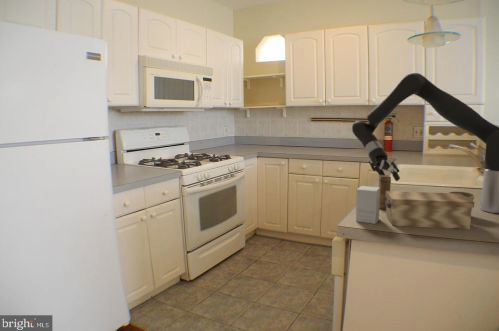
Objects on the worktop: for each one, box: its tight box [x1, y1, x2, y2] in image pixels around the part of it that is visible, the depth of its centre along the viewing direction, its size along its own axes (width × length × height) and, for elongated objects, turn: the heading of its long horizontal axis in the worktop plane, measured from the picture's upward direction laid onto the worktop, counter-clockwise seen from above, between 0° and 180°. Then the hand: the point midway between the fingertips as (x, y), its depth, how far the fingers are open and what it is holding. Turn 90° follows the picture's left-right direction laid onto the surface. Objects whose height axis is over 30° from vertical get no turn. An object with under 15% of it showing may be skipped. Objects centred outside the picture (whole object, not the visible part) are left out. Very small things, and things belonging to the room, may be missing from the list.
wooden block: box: [378, 174, 392, 210], centre depth 154 cm, size 4×4×14 cm
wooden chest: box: [385, 190, 475, 230], centre depth 139 cm, size 28×21×10 cm
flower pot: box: [447, 190, 476, 202], centre depth 144 cm, size 9×9×9 cm
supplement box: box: [355, 185, 380, 225], centre depth 138 cm, size 7×7×13 cm
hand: (391, 178), depth 161 cm, fingers open, 8 cm apart
